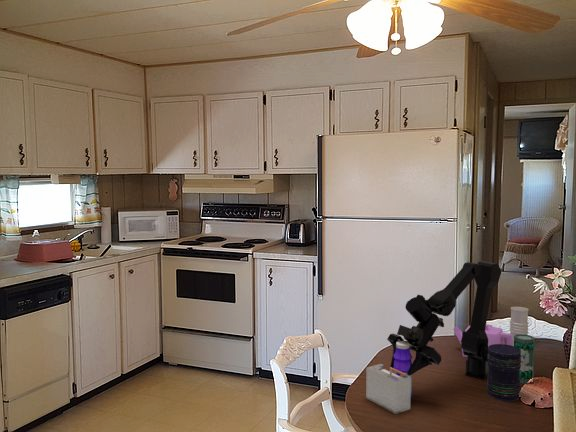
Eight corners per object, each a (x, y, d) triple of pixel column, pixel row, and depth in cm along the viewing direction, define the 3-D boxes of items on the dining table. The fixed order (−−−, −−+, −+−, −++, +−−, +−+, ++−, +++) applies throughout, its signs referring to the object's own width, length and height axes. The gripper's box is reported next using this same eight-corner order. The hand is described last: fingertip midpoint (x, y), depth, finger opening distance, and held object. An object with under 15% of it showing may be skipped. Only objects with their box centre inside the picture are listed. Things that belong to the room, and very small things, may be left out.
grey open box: (380, 394, 173) (380, 362, 172) (410, 409, 162) (410, 376, 161) (366, 398, 170) (366, 366, 169) (395, 414, 159) (395, 380, 158)
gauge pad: (384, 393, 171) (384, 362, 170) (409, 405, 162) (409, 373, 161) (380, 394, 170) (380, 363, 169) (404, 407, 161) (405, 374, 160)
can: (510, 380, 182) (512, 337, 181) (516, 375, 187) (517, 333, 186) (529, 385, 179) (531, 341, 177) (535, 379, 183) (536, 336, 182)
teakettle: (516, 361, 201) (517, 328, 200) (475, 365, 197) (476, 332, 196) (489, 346, 217) (490, 316, 216) (451, 350, 214) (451, 319, 212)
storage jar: (526, 400, 167) (528, 353, 166) (497, 402, 166) (498, 355, 164) (508, 387, 177) (509, 343, 176) (480, 389, 176) (481, 344, 174)
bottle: (412, 402, 165) (412, 347, 163) (393, 401, 166) (393, 346, 164) (411, 392, 172) (412, 339, 170) (393, 391, 173) (393, 338, 171)
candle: (527, 343, 221) (528, 307, 219) (528, 348, 214) (529, 311, 213) (509, 341, 223) (510, 305, 222) (509, 346, 217) (510, 310, 215)
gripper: (391, 309, 176) (365, 348, 172) (435, 322, 161) (408, 366, 156) (408, 328, 181) (384, 367, 177) (452, 343, 166) (427, 386, 161)
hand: (399, 371), depth 167 cm, fingers closed on bottle, 7 cm apart
